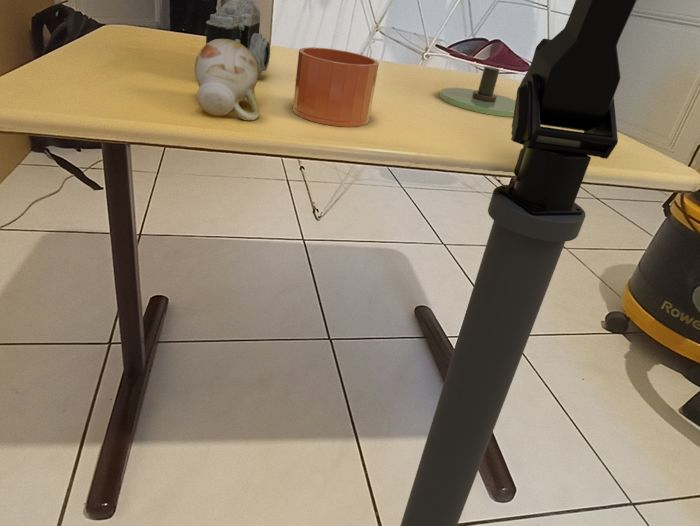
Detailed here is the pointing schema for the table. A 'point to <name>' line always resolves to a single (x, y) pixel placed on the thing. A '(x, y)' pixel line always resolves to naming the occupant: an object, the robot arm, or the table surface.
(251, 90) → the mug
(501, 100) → the plate
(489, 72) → the grey flanged cylinder
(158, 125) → the table surface
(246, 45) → the camera
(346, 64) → the cup
